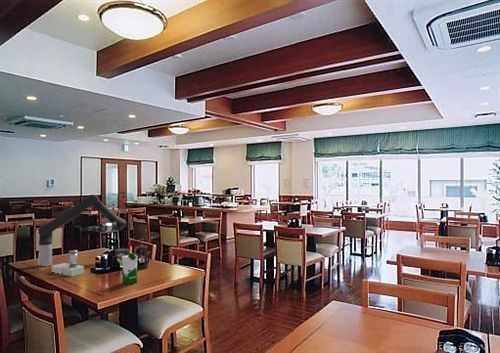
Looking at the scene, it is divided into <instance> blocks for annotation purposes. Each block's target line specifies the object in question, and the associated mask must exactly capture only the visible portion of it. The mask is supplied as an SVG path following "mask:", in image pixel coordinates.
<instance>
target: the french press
mask: <svg viewBox="0 0 500 353" xmlns="http://www.w3.org/2000/svg"><path fill="white" fill-rule="evenodd" d="M138 240H139V241H140V242H143V240H145V238H139V239H138ZM148 247H149V246H148V245H138V246H137V245H136V247H135V248H136V250H140V251H138V252H135V255H136V256H138V259H137V271H139V270H147V269H149V264H150V251H146V250H148ZM143 256H144V257H143ZM140 257H141V258H140Z"/></svg>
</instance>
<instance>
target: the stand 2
mask: <svg viewBox="0 0 500 353" xmlns="http://www.w3.org/2000/svg"><path fill="white" fill-rule="evenodd" d="M77 265H78V267H76V268H69V267H65V268H63V274H62V275H64V276H69V277H74V276H78V275H82V273H83V274H84V273H85V266H83V265H79V264H77Z"/></svg>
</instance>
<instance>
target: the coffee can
mask: <svg viewBox="0 0 500 353" xmlns="http://www.w3.org/2000/svg"><path fill="white" fill-rule="evenodd" d="M129 250H130V249H129V248H127V247H126V248H123V247H122V248H115V249H114V258H115V257H116V258H117V261H118V262H119V263H120V264H121V265H122V266H123V262H122V256H127V255H128V254H129V252H130V251H129Z"/></svg>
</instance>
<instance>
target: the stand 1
mask: <svg viewBox="0 0 500 353" xmlns="http://www.w3.org/2000/svg"><path fill="white" fill-rule="evenodd" d="M69 265H70V263H66V262H63V263H58V264H53V265H51V273H52V272H55V273H54V274H57V273H59V274H58V275H62V274H61V273H63V268H65V267H69Z"/></svg>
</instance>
